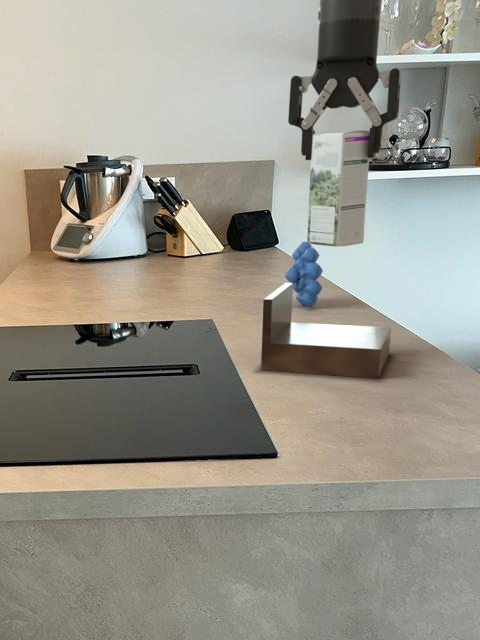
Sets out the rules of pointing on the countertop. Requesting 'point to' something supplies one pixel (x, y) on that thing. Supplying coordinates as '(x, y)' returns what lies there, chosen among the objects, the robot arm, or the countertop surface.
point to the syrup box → (338, 188)
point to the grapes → (305, 274)
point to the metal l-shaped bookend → (319, 343)
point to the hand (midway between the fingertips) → (339, 158)
